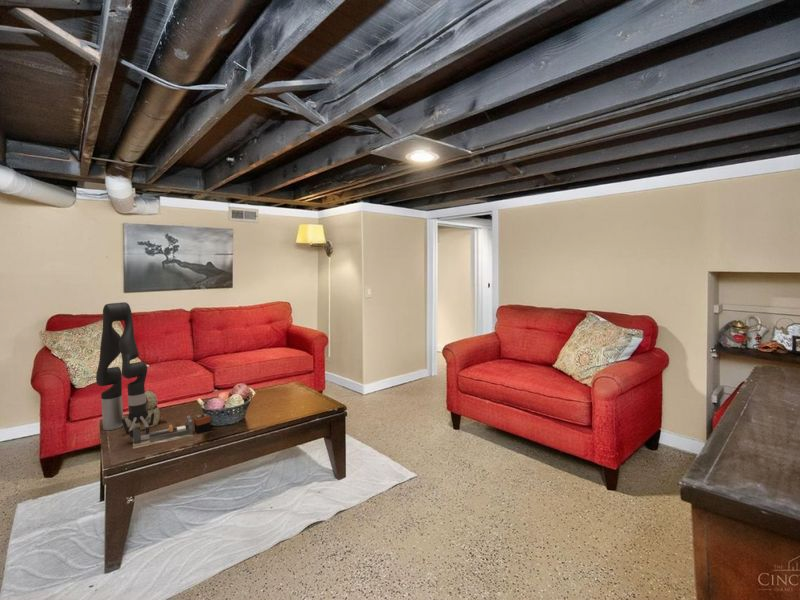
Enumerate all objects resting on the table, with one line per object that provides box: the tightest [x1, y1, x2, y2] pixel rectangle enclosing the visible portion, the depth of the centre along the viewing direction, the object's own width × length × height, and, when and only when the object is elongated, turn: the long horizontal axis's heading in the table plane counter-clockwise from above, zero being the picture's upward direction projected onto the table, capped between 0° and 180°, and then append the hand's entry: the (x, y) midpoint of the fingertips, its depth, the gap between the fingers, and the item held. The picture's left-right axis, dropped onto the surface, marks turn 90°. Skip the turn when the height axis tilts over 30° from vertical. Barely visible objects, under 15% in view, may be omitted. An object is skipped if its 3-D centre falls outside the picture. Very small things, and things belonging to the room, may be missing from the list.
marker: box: [176, 425, 186, 432], centre depth 210 cm, size 4×4×3 cm
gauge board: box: [132, 415, 194, 449], centre depth 206 cm, size 14×26×8 cm, turn 124°
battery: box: [193, 413, 212, 435], centre depth 213 cm, size 4×7×10 cm, turn 139°
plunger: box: [132, 424, 174, 443], centre depth 203 cm, size 5×17×6 cm, turn 124°
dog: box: [125, 390, 168, 433], centre depth 221 cm, size 23×19×20 cm
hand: (139, 435), depth 200 cm, fingers closed on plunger, 5 cm apart
